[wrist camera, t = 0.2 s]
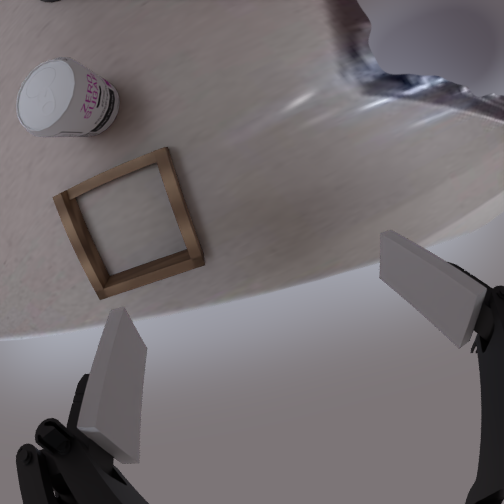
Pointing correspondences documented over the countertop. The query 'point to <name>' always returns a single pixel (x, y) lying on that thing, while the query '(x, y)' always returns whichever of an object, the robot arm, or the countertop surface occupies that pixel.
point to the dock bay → (143, 273)
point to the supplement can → (66, 100)
